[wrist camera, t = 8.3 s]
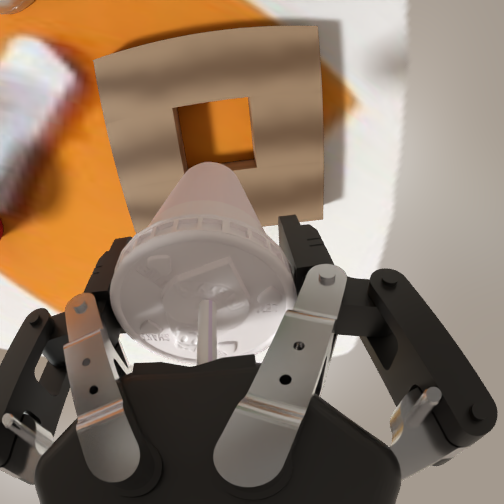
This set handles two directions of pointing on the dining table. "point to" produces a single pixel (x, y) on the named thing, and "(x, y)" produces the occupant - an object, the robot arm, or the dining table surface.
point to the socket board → (213, 89)
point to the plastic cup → (1, 229)
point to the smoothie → (203, 274)
